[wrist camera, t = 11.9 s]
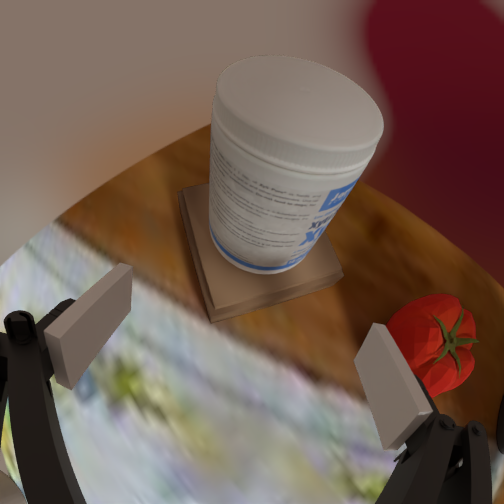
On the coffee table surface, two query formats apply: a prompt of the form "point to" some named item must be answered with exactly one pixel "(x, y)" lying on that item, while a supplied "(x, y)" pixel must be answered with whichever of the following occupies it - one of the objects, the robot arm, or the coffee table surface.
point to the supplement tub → (283, 157)
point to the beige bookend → (10, 491)
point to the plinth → (243, 282)
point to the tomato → (435, 340)
